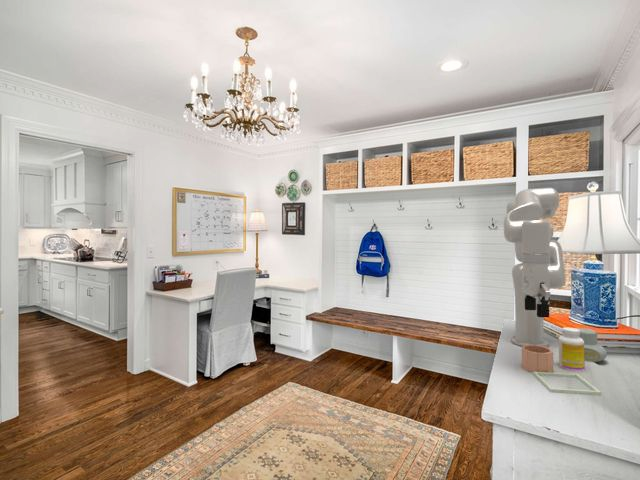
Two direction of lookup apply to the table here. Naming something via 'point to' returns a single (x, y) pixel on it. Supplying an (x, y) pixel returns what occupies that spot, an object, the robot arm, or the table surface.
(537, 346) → the pot
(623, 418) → the table surface
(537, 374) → the tray
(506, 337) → the table surface
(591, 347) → the air freshener
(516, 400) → the table surface
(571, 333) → the supplement bottle
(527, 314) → the robot arm
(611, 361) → the table surface
